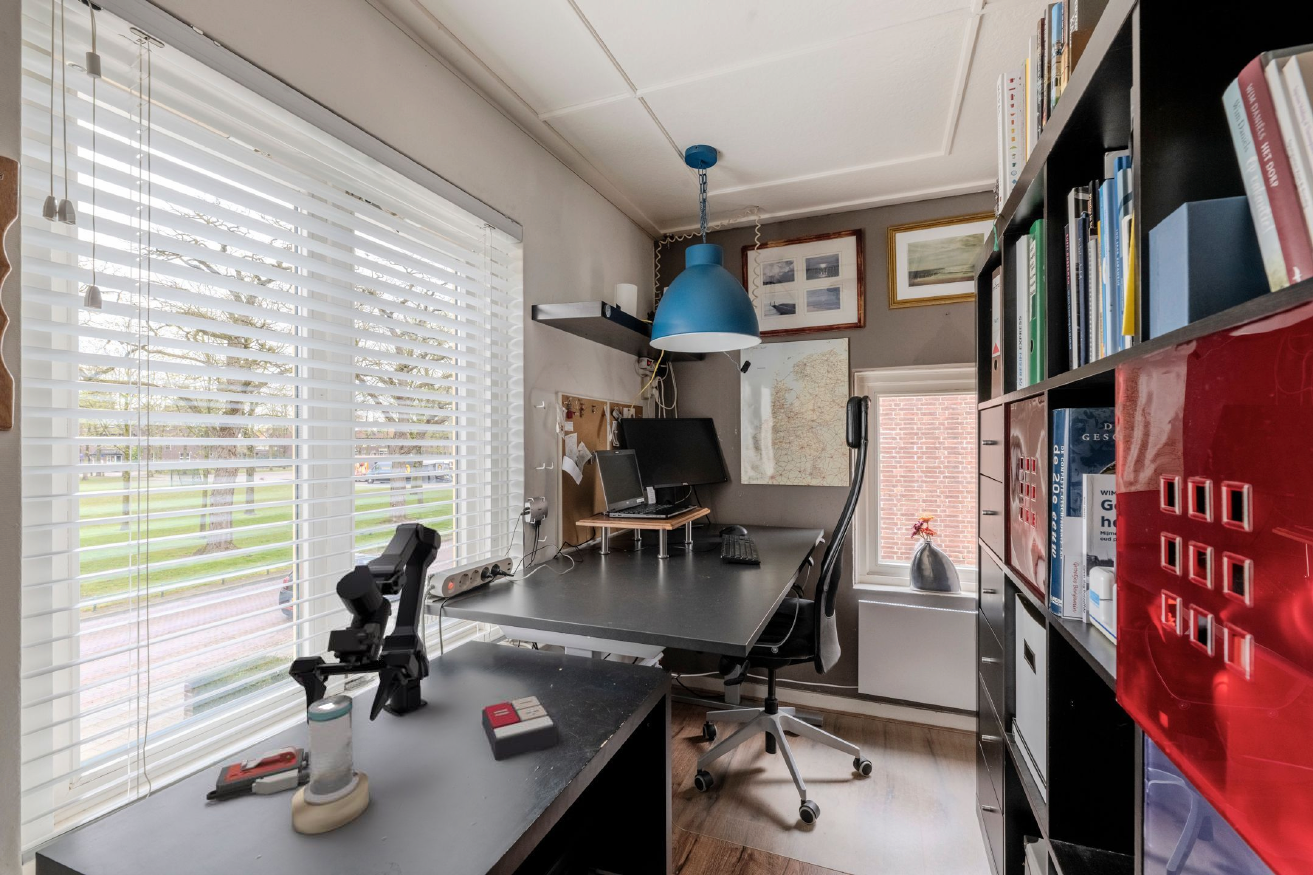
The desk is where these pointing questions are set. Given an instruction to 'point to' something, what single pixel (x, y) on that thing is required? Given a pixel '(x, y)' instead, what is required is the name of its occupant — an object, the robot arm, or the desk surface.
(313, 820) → the stand
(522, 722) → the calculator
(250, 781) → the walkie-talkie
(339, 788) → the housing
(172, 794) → the desk surface
